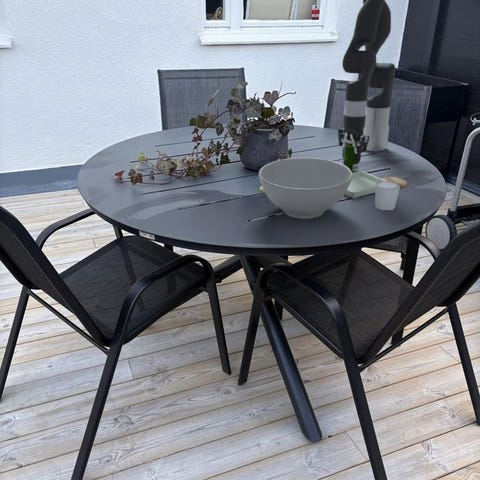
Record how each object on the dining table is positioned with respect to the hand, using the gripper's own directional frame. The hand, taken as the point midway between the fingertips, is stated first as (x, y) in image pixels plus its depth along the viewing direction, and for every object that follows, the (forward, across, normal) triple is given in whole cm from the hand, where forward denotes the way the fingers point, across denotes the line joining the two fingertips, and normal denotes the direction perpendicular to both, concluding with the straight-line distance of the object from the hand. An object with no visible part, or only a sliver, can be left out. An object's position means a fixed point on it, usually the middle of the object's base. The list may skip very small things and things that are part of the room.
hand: (350, 160), depth 165 cm
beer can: (+4, 0, 0) cm, 4 cm away
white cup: (+4, -30, +12) cm, 33 cm away
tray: (+4, -13, +8) cm, 16 cm away
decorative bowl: (+4, -19, +34) cm, 39 cm away
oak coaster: (+4, -17, -4) cm, 18 cm away
